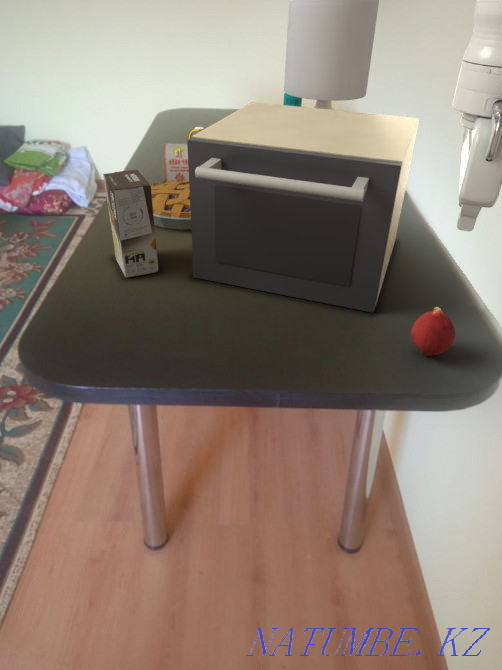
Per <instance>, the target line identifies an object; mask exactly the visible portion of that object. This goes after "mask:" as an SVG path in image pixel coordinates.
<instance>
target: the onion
mask: <svg viewBox="0 0 502 670" xmlns="http://www.w3.org/2000/svg"><path fill="white" fill-rule="evenodd" d="M410 330H411V332H410V335H411V340H412V343H413V344H414V346H415V347H416V348H417V349H418V350H419V351H420V352H421V353H422V354H423V355H424V356H427V357H430V356H431V357H432V356H438V355H441V354H443V353H445V352H447V351H448V350H449V349H450V348H451V347H452V345H453V343H454V341H455V339H456V328H455V325H454V323H453V320H452V319H451V318H450V317H449V316H448V315H447V314H446V313H445V312H443V310H442V308H440V307H439V306H434V307H433V309H432V311H431V310H430V311H427V312H425V313H423V314H421V315H420V316H419V317H417V319H416V320H415V321H414V323H413V326H412V328H411V329H410Z"/></svg>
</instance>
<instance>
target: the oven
mask: <svg viewBox="0 0 502 670" xmlns="http://www.w3.org/2000/svg"><path fill="white" fill-rule="evenodd" d="M419 123H420V118H419V117H411V116H410V117H409V116H400V115H390V114H379V113H368V112H359V111H348V110H339V109H334V110H328V109H318V108H314V107H307V106H301V107H297V106H287V105H283V104H275V103H266V102H254V101H252V102H250V103H248V104H246V105H244V106H243V107H241V108H240V109H237V110H236V111H234V112H232V113H230V114H229V115H227V116H225V117H223V118H221V119H220V120H218V121H216V122H214V123H212V124H211V125H209V126H208V127H205V128H204V130H202V131H197V133H195V134H192V138H200V139H208V140H216V141H225V142H233V143H241V144H250V145H258V146H266V147H275V148H283V149H291V150H300V151H308V152H316V153H325V154H333V155H342V156H350V157H358V158H367V159H375V160H383V161H392V162H400V163H403V164H402V169H401V174H400V179H399V185H398V190H397V195H396V200H395V206H394V211H393V216H392V222H391V227H390V232H389V237H388V243H387V248H386V253H385V258H384V264H383V269H382V274H381V279H380V285H379V290H378V295H377V301H376V306H375V308H376V307H377V305H378V304H377V303H378V299H379V296H380V293H381V290H382V287H383V283H384V281H385V276H386V272H387V270H388V266H389V263H390V260H391V256H392V254H393V253H392V252H393V249H394V245H395V244H396V243H395V242H396V239H397V233H398V229H399V224H400V218H401V214H402V209H403V203H404V198H405V195H406V188H407V183H408V178H409V173H410V168H411V164H412V158H413V153H414V149H415V148H414V147H415V143H416V137H417V132H418V128H419Z"/></svg>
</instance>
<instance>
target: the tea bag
mask: <svg viewBox="0 0 502 670" xmlns="http://www.w3.org/2000/svg"><path fill="white" fill-rule="evenodd" d="M163 164H164V177H165V179H164V180H165V183H166V182H167V181H172V180H174V181H175V182H182V181H184V180H189V168H188V146H187V143H163Z"/></svg>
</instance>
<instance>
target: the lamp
mask: <svg viewBox="0 0 502 670" xmlns="http://www.w3.org/2000/svg"><path fill="white" fill-rule="evenodd" d="M379 4H380V0H288V10H287V11H288V13H287V27H286V47H285V66H284V81H283V82H284V85H283V92H284V93H286V94H288V95H291V96H295V97H299V98H302V99H305V100H313V101H315V106H314V107H313V108H318V109H328V110H335V109H334V108H333V107H332V106H333V105H332V102H338V101H339V102H342V101H343V102H344V101H353V100H354V101H355V100H359V99H363V98H364V97H366V96H367V91H368V90H367V89H368V85H369V84H368V82H369V77H370V68H371V62H372V61H371V60H372V55H373V47H374V42H375V41H374V40H375V33H376V27H377V26H376V25H377V21H378V20H377V19H378V12H379Z"/></svg>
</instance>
